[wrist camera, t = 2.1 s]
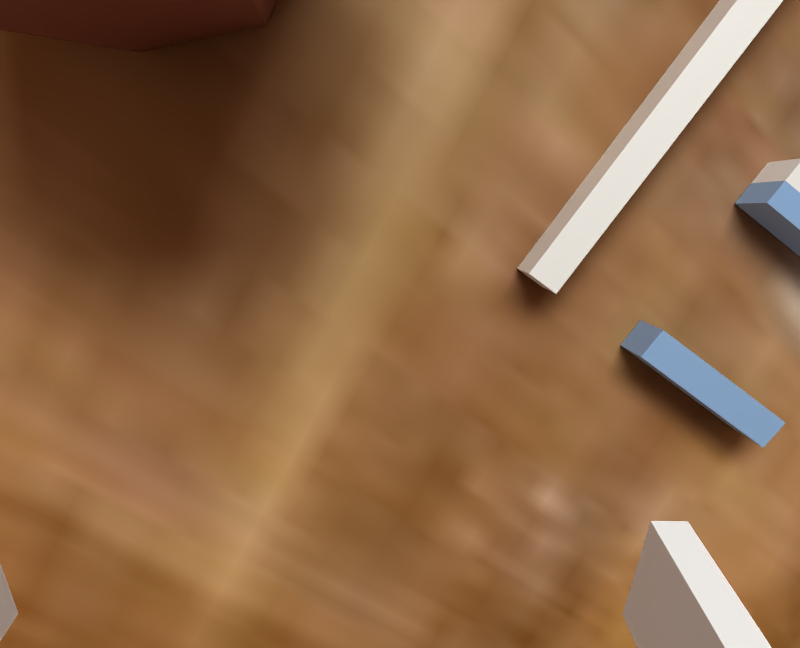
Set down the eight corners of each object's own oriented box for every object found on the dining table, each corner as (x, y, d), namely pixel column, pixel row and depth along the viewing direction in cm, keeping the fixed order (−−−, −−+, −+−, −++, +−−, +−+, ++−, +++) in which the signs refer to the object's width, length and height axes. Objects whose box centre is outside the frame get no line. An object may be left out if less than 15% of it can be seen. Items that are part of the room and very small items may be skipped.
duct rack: (1011, 109, 34) (1070, 100, 31) (733, 429, 38) (763, 447, 35) (791, -95, 31) (833, -127, 28) (517, 268, 35) (529, 273, 32)
